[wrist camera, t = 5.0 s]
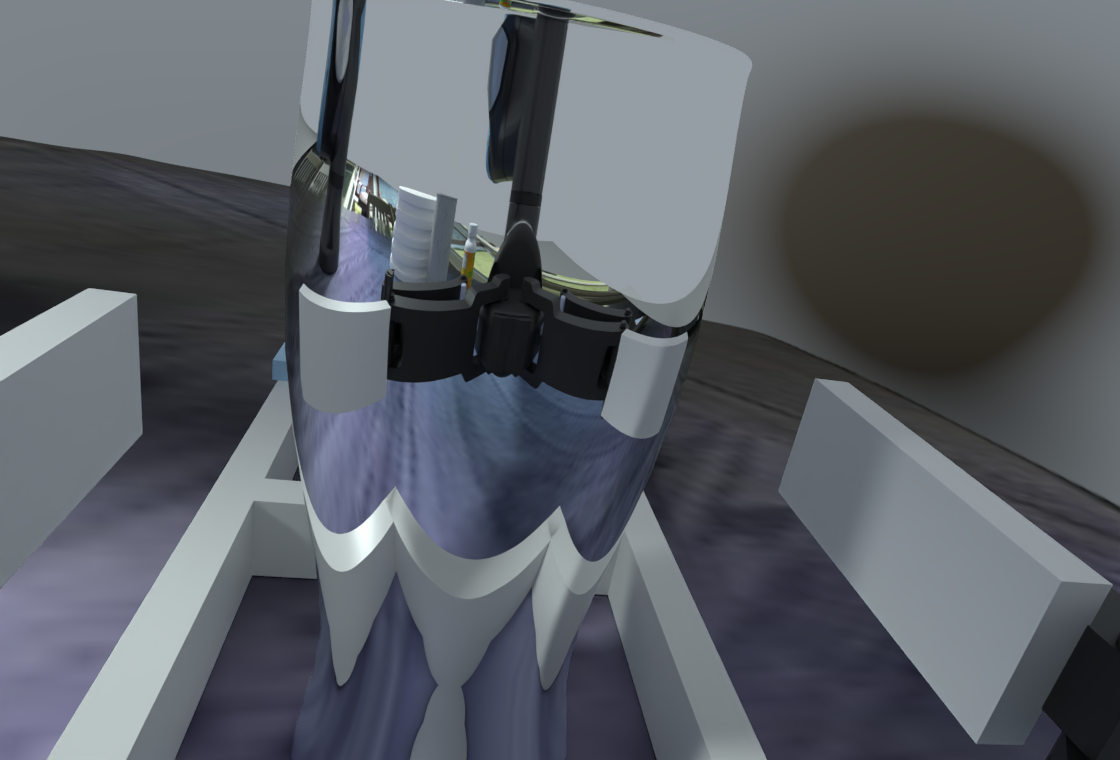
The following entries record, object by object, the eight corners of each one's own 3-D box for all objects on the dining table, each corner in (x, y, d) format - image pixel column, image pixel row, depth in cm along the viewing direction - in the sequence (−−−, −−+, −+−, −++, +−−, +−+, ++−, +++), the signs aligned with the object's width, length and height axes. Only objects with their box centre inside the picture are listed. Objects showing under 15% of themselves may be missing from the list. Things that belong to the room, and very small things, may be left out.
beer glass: (563, 643, 20) (689, 72, 15) (608, 905, 14) (862, 59, 8) (306, 629, 19) (340, 1, 13) (221, 910, 12) (223, -79, 7)
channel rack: (834, 1118, 11) (888, 1023, 10) (-121, 1210, 9) (-160, 1096, 8) (577, 414, 35) (586, 368, 34) (303, 386, 32) (305, 335, 32)
